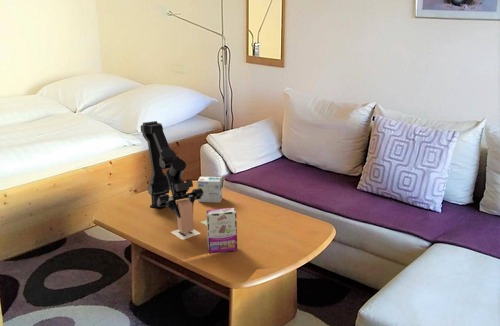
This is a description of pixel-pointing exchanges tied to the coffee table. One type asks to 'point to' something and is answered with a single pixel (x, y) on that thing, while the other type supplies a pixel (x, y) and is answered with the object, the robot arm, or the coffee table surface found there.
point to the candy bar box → (221, 230)
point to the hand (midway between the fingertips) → (186, 216)
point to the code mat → (187, 234)
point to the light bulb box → (210, 189)
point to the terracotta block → (185, 215)
